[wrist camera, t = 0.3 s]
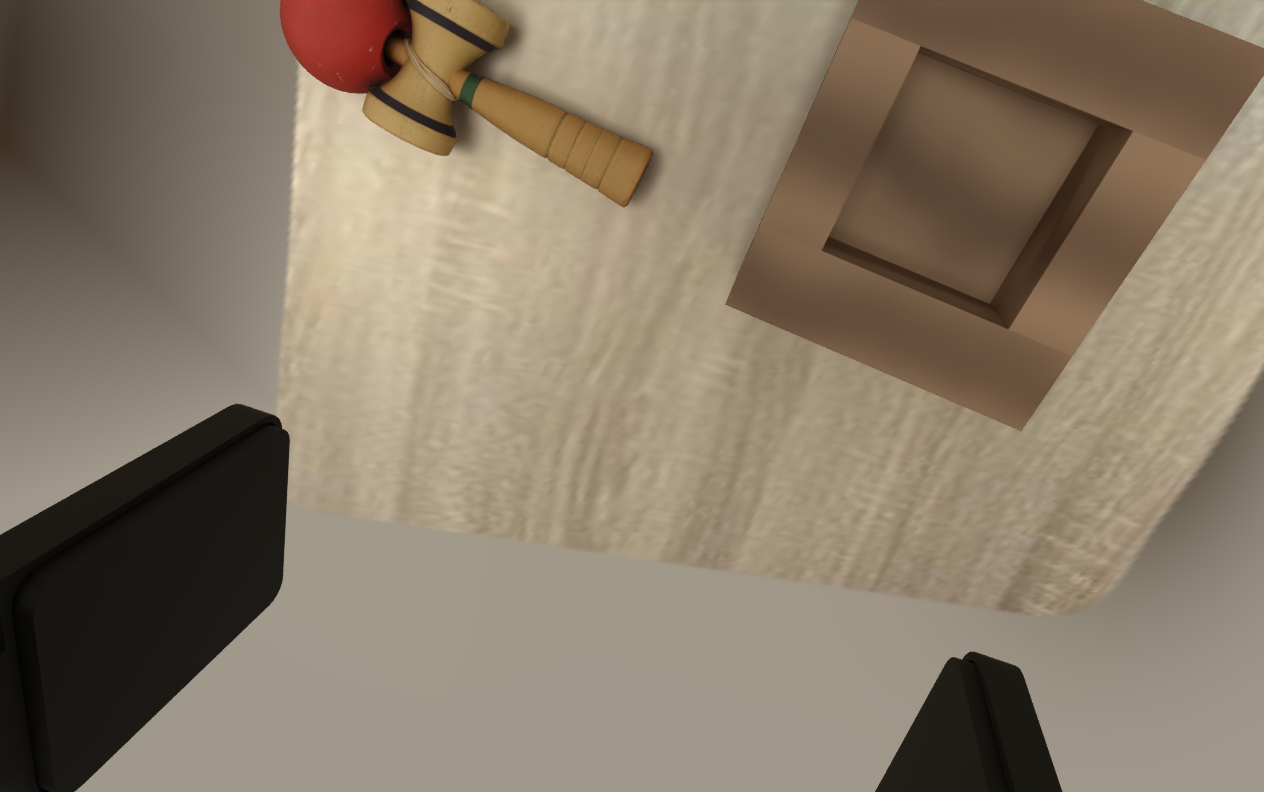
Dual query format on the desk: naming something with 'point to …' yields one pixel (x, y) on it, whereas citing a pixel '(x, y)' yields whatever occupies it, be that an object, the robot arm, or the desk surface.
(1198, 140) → the socket block
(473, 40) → the kendama
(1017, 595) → the desk surface
